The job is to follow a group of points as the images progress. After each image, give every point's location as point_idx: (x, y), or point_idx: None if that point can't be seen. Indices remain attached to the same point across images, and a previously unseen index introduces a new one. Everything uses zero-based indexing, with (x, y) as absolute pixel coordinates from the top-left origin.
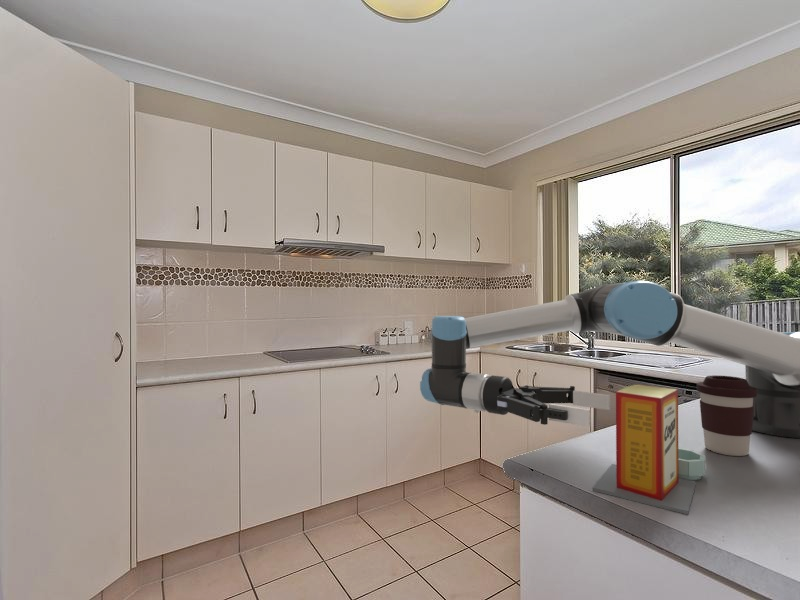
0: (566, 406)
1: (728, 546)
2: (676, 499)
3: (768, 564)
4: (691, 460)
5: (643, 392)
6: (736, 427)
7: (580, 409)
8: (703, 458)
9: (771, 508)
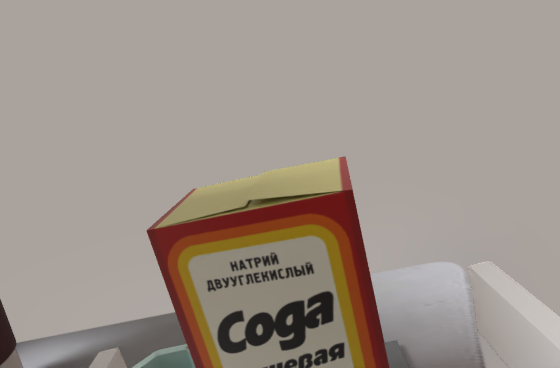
0: (556, 324)
1: (453, 294)
2: None
3: (453, 269)
4: None
5: (303, 177)
6: (9, 330)
7: (511, 282)
8: (176, 347)
9: None
